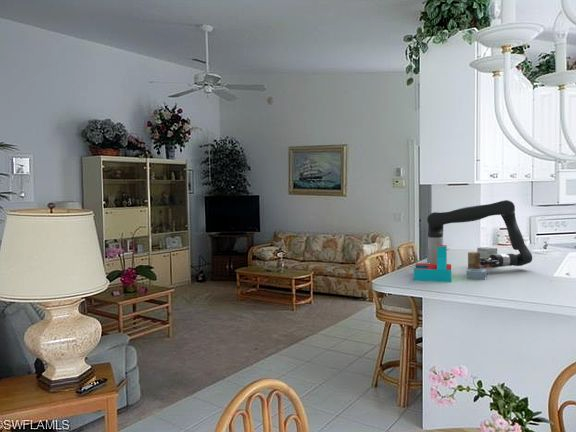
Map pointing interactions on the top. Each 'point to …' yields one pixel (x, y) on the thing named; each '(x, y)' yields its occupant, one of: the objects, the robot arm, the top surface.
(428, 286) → the top surface
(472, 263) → the pillar
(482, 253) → the ink box
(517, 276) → the top surface
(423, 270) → the building blocks toy
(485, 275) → the plinth
